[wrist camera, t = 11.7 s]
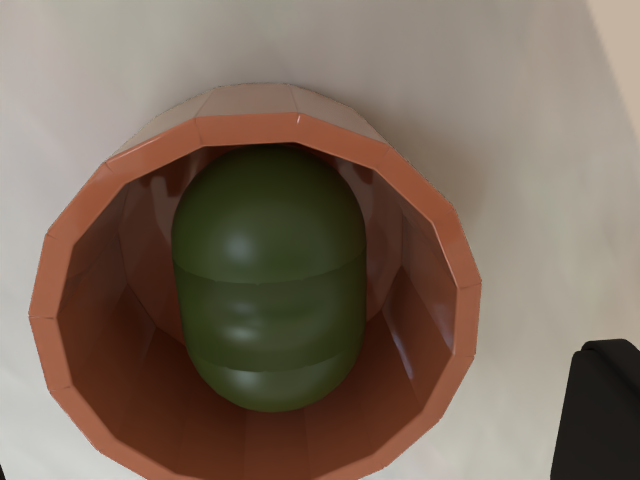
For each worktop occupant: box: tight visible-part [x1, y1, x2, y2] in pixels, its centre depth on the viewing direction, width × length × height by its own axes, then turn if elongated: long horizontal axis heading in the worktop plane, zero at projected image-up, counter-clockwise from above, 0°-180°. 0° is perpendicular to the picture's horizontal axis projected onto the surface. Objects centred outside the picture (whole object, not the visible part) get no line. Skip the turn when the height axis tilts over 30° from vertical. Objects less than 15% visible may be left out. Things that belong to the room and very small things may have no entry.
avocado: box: [171, 143, 367, 412], centre depth 15 cm, size 8×5×5 cm
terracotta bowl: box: [28, 83, 482, 480], centre depth 15 cm, size 10×10×6 cm
